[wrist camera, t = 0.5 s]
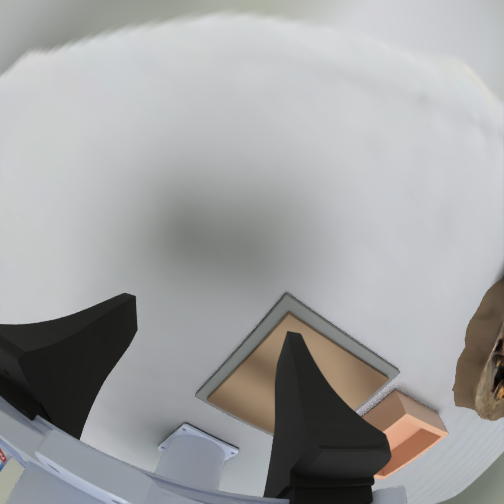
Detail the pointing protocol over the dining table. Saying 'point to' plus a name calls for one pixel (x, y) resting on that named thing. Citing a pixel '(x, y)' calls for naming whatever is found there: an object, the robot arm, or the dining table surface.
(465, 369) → the food dish
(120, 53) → the dining table surface
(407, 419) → the pink shallow tray
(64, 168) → the dining table surface
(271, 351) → the lid
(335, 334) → the mat
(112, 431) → the dining table surface
